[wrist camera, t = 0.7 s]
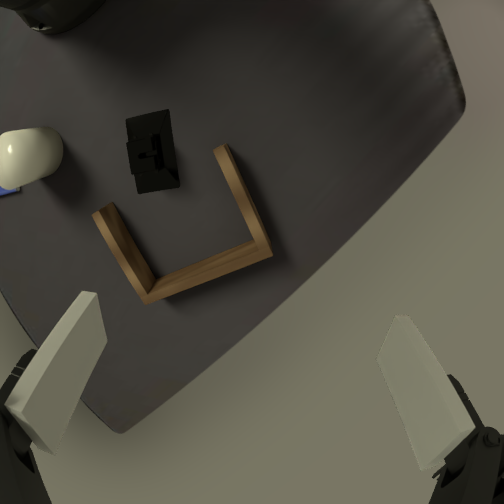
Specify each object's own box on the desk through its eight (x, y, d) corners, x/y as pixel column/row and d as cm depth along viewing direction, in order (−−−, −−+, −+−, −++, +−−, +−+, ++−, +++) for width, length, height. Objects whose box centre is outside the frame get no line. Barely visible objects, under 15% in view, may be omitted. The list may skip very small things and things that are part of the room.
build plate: (189, 196, 36) (181, 207, 32) (135, 205, 36) (121, 216, 32) (174, 96, 31) (163, 93, 27) (118, 110, 31) (101, 110, 27)
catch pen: (105, 205, 35) (91, 215, 32) (226, 143, 33) (223, 145, 29) (153, 289, 40) (145, 305, 37) (270, 242, 37) (273, 255, 34)
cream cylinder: (22, 144, 31) (-15, 153, 24) (52, 116, 30) (14, 119, 23) (39, 184, 34) (3, 200, 26) (70, 159, 33) (34, 170, 25)
